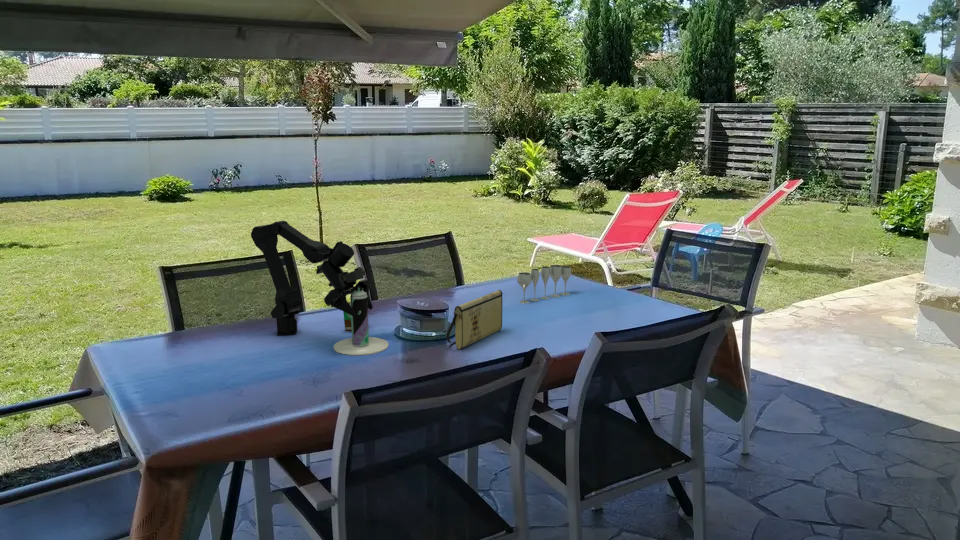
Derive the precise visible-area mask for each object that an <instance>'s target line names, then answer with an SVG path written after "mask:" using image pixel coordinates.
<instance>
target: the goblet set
mask: <svg viewBox="0 0 960 540" xmlns="http://www.w3.org/2000/svg"><path fill="white" fill-rule="evenodd" d="M571 274H572V267H571V266H569V265H560V264H550V265H549V266H542V267H541V270H540V269H539V268H532V269H531V271H530V273H529V272H526V271H525V272H523V271H522V272H518V275H517V278H516V279H517V283H518V285H519V286H521V288H522V291H523V300H519V301H518V303H519V302H520V303H519V304H529V302H530V301H531V302H539V301H540V299H542V300H549V299H550V298H560V297H561V296H570V295H571V293H569V292H566V287H567V283H568V280H569V279H570V277H571ZM540 276H541V280H542V282H543V284H544V285H543V286H544V296H541V297H540V299H539V298H536V288H537V285H538V282H539V279H540ZM550 278H551V280H552V281H553V283H554V294H550V295H549V296H546V295H547V294H546V292H547V290H546V289H547V283H548V282H549V279H550ZM560 279H562V280H563V284H564V292H560V293H559V294H557V284H558V281H559V280H560ZM531 283H533V289H534V293H533V294H534V295H533V296H534V298H530V300H526V299H525V295H526V294H525V293H526V289H527V288H528V287H529V286H530V284H531Z"/></svg>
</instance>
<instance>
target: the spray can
mask: <svg viewBox="0 0 960 540" xmlns="http://www.w3.org/2000/svg"><path fill="white" fill-rule="evenodd" d="M350 302H351V308H352V309H353V311H354V312H355V315H354V316H352V315H351V324H352V331H351V338H352V346H354V347H366V346H368V345H369V337H370V334H369V332H370V331H369V311H368V310H369V308H368V302H367V293H366V292H364V291H363V290H362V289H361V286H360V287H356V289H355V290H354V292H353V293H351V294H350Z"/></svg>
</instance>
